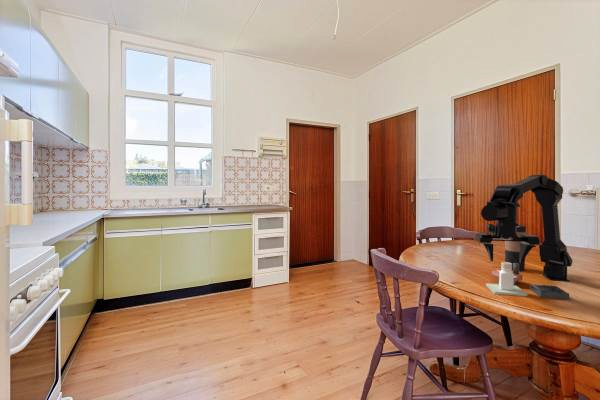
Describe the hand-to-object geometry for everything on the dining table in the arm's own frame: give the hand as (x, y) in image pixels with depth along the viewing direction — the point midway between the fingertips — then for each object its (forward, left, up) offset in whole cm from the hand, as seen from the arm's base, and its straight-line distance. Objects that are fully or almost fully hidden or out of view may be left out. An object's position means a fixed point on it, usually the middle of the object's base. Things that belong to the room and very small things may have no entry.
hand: (505, 262), depth 106 cm
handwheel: (-4, -11, -9) cm, 14 cm away
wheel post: (-4, -11, -11) cm, 16 cm away
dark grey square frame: (-13, 0, -11) cm, 17 cm away
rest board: (0, 0, -11) cm, 11 cm away
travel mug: (-15, -33, -11) cm, 38 cm away
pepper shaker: (0, 0, -10) cm, 10 cm away
